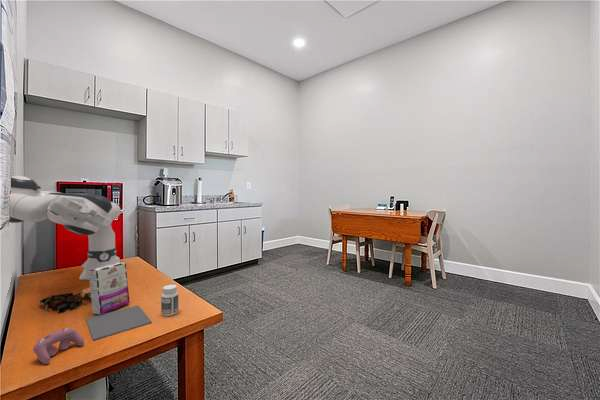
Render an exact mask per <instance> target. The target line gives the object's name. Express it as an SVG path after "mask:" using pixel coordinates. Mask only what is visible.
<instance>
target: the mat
mask: <svg viewBox="0 0 600 400" xmlns="http://www.w3.org/2000/svg"><path fill="white" fill-rule="evenodd" d="M148 316H149V315H147V314H146V313H145V311H144V310H143V309H142V307H140V306H139V304H138V305H133V306H130V307H126V308H122V309H121V308H120V309H118V310H117V309H116V310H112V311H109V312H107V313H105V314H102V315H97V314H96V315H93V316H90V317H86V318H85V321H86V324H87V327H88V329H89V333H90V336H91V337H92V341H97V340H101V339H104V338H106V337H110V336H114V335H117V334H119V333H120V334H121V333H123V332H126V331H130V330H133V329H137V328H140V327H143V326H147V325H150V324H152V323H153V321H152V319H150V318H149V317H148Z"/></svg>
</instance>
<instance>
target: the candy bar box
mask: <svg viewBox="0 0 600 400" xmlns="http://www.w3.org/2000/svg"><path fill="white" fill-rule="evenodd" d="M88 271H89V280H88V281H89V287H90V290H91V298H90V300H91V308H92V314H93V315H96V316H97V315H102V314H105V313H109V312H113V311H115V310H117V309H118V308H121V307H123V306H126V305H128V304H130V303H131V302H130V294H129V293H130V292H129V283H128V274H127V273H128V272H127V263H126V262H123V261H121V262H119V263H115V264H110V265H107V266H103V267H99V268H95V269H91V270H88Z"/></svg>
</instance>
